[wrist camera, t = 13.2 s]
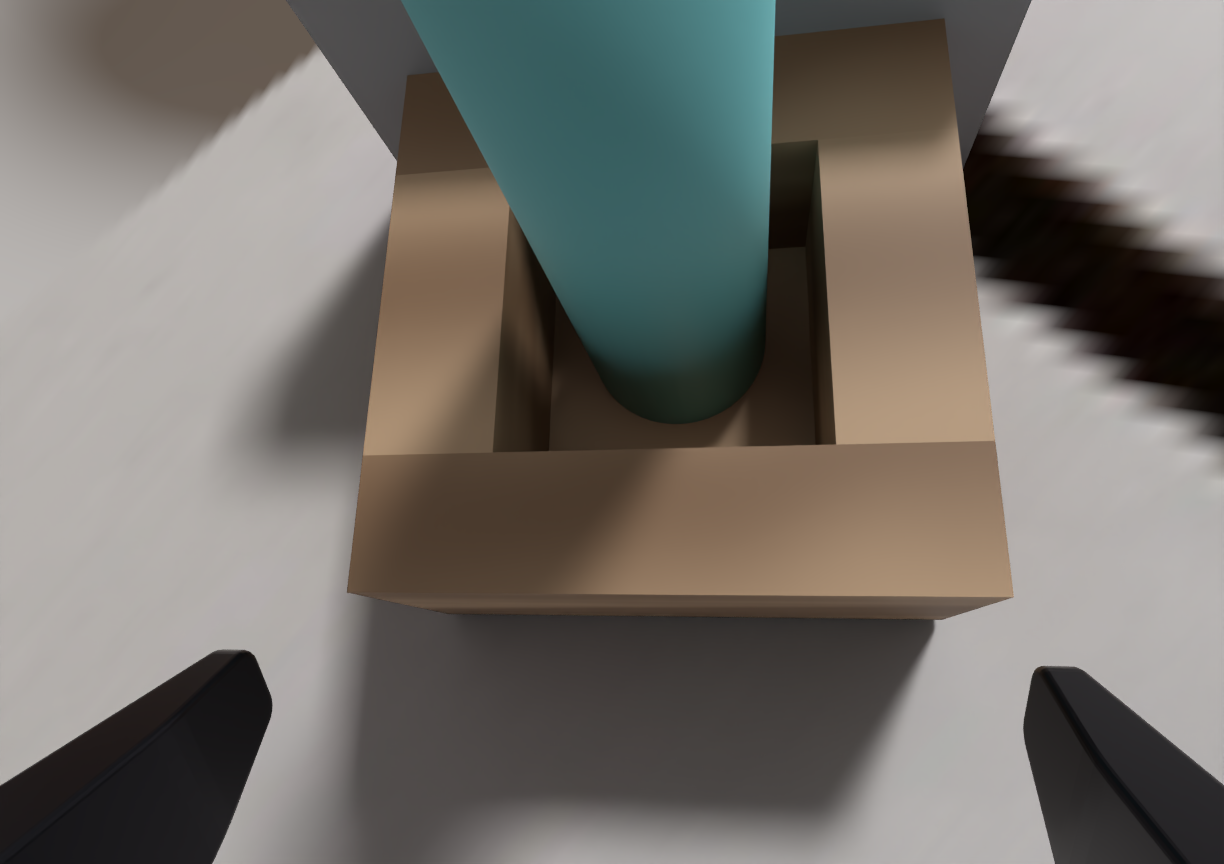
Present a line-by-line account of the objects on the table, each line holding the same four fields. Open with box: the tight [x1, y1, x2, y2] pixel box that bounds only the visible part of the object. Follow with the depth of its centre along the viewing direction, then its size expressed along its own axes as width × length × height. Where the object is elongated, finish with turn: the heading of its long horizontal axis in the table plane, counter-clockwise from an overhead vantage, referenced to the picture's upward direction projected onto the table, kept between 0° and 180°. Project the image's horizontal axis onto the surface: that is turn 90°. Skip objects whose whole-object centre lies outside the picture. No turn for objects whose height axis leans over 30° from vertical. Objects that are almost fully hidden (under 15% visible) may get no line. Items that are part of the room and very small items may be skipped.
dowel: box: [401, 0, 776, 424], centre depth 13 cm, size 4×4×12 cm
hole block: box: [347, 18, 1014, 620], centre depth 17 cm, size 11×11×5 cm
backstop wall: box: [286, 0, 1031, 169], centre depth 17 cm, size 2×14×9 cm, turn 88°
